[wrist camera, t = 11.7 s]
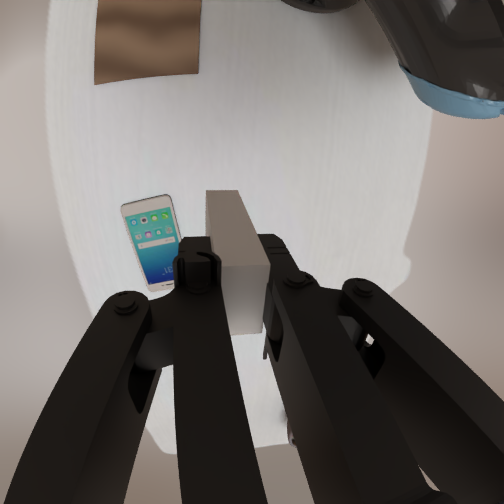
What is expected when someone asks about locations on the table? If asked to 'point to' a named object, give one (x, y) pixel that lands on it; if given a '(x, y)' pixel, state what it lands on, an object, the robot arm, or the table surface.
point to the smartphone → (153, 239)
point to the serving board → (146, 39)
